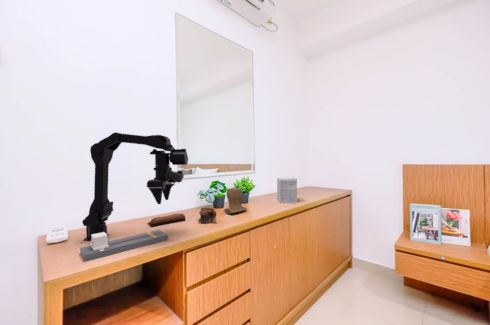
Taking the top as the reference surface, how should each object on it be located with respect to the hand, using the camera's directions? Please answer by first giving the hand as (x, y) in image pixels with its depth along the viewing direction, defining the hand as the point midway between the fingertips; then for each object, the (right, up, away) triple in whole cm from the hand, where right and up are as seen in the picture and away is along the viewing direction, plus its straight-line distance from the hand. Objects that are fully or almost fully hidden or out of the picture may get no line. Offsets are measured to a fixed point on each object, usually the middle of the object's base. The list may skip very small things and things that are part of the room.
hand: (163, 201), depth 95 cm
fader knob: (-17, -13, -16) cm, 26 cm away
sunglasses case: (-7, -15, +22) cm, 28 cm away
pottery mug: (+15, -15, +22) cm, 31 cm away
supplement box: (+66, -13, +75) cm, 101 cm away
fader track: (-10, -15, -10) cm, 21 cm away
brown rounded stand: (+28, -14, +43) cm, 53 cm away
